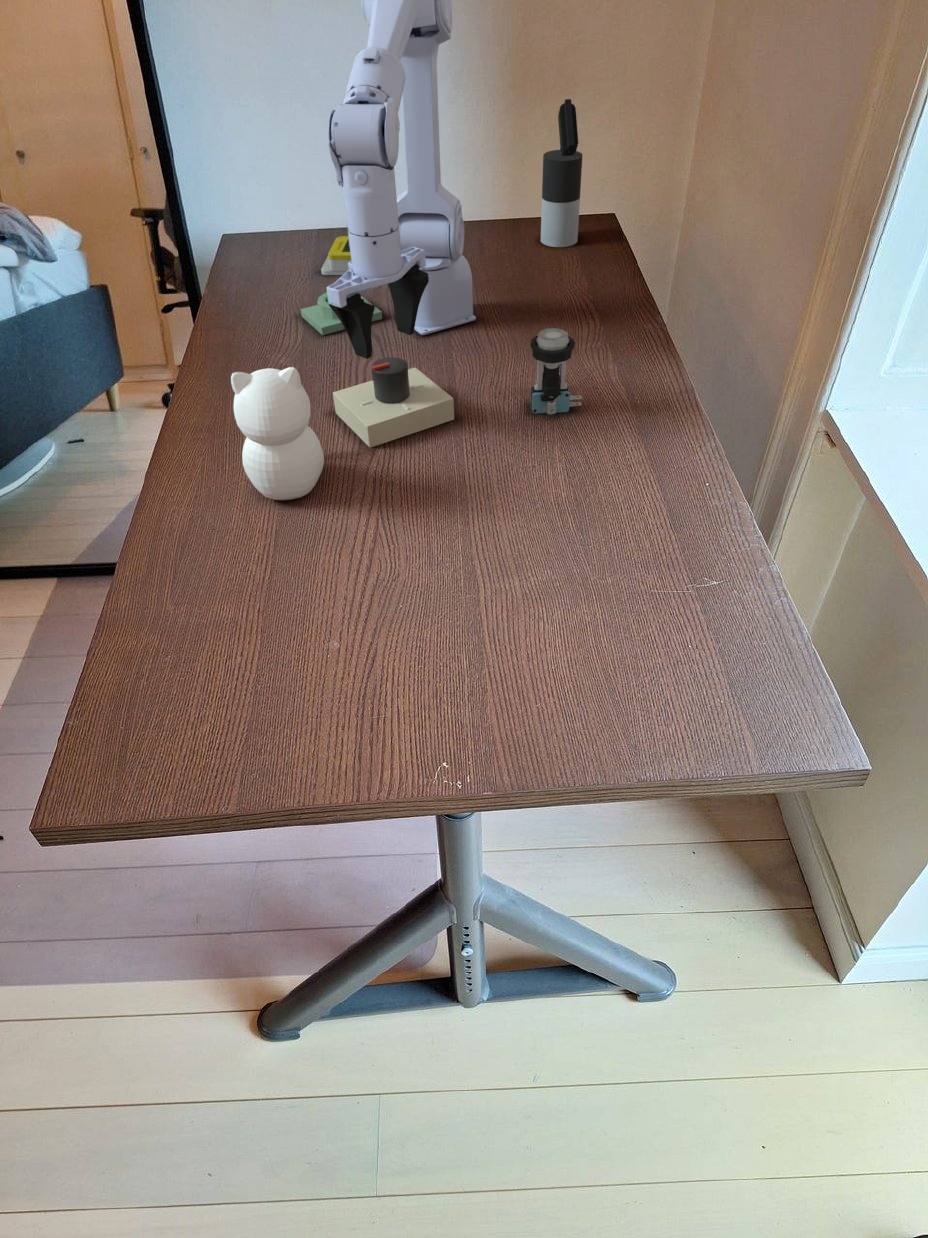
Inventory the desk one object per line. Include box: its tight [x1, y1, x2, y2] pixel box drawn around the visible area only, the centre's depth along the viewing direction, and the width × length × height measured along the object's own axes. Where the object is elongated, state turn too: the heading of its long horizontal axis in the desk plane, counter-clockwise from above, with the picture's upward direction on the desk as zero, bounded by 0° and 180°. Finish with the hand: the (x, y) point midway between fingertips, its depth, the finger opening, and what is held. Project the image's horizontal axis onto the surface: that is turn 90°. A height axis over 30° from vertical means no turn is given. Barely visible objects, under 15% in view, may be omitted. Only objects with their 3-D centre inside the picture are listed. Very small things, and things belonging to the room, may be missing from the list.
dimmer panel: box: [332, 367, 455, 449], centre depth 108 cm, size 12×10×3 cm
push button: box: [530, 327, 583, 415], centre depth 105 cm, size 7×5×10 cm
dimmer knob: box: [371, 356, 410, 403], centre depth 105 cm, size 4×4×4 cm
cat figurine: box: [230, 366, 325, 501], centre depth 94 cm, size 9×12×15 cm
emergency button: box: [320, 235, 351, 276], centre depth 145 cm, size 9×4×15 cm
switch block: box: [300, 292, 383, 336], centre depth 130 cm, size 10×8×3 cm
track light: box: [540, 98, 583, 248], centre depth 144 cm, size 6×17×20 cm
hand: (385, 343), depth 104 cm, fingers open, 7 cm apart
